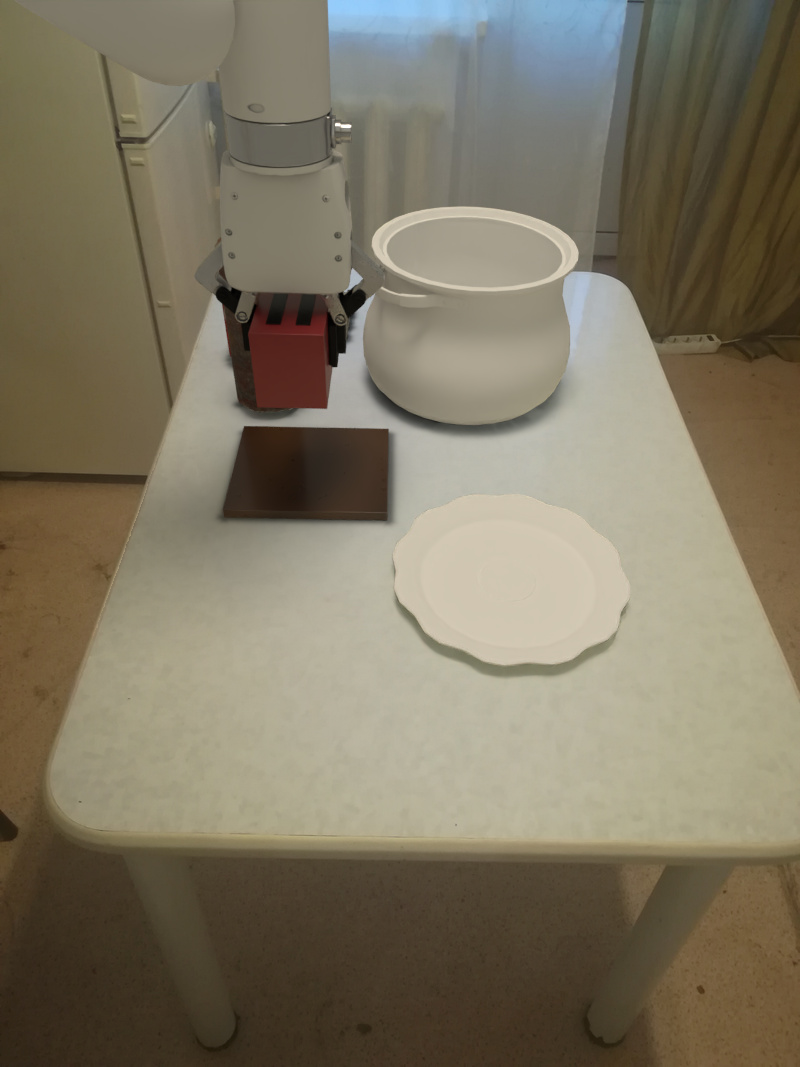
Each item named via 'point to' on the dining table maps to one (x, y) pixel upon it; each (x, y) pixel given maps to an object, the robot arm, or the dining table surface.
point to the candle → (242, 361)
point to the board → (309, 474)
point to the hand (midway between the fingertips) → (296, 356)
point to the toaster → (290, 351)
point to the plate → (510, 579)
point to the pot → (469, 313)
